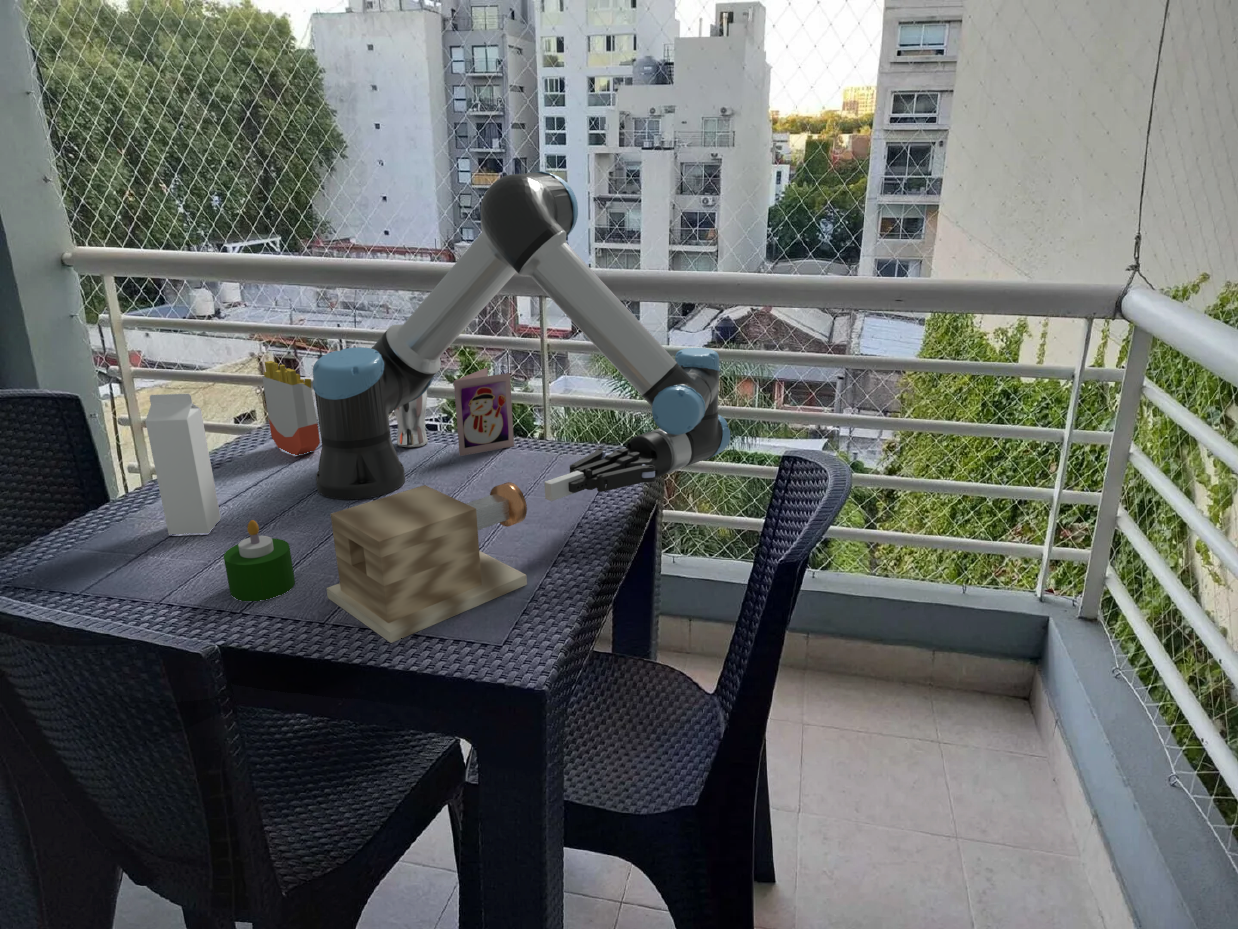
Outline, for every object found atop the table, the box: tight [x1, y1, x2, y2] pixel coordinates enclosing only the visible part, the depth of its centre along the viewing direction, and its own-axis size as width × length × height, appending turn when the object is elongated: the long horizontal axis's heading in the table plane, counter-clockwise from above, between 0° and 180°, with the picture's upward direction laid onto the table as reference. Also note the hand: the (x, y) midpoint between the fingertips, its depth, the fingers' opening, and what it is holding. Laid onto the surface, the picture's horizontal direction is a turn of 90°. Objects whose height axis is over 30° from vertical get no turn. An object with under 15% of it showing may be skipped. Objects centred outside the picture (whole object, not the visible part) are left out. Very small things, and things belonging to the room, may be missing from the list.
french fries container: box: [261, 360, 321, 455], centre depth 170 cm, size 5×11×18 cm, turn 50°
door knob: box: [465, 481, 528, 531], centre depth 120 cm, size 16×6×6 cm, turn 134°
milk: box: [145, 393, 222, 535], centre depth 135 cm, size 6×6×22 cm
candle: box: [223, 519, 296, 602], centre depth 118 cm, size 8×8×10 cm
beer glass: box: [394, 389, 429, 448], centre depth 175 cm, size 7×7×15 cm
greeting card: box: [453, 367, 515, 457], centre depth 172 cm, size 11×7×15 cm, turn 120°
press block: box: [326, 484, 528, 644], centre depth 116 cm, size 21×16×12 cm
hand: (548, 491), depth 129 cm, fingers closed
